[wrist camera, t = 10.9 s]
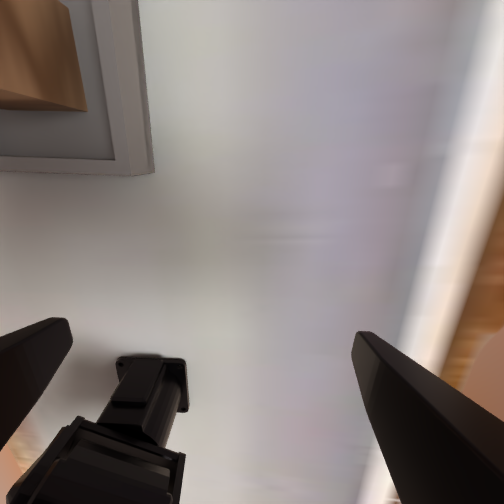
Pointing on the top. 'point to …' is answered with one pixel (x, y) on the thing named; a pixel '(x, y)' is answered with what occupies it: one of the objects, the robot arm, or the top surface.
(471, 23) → the top surface
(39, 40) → the walnut block
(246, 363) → the top surface
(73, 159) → the grey square tray
